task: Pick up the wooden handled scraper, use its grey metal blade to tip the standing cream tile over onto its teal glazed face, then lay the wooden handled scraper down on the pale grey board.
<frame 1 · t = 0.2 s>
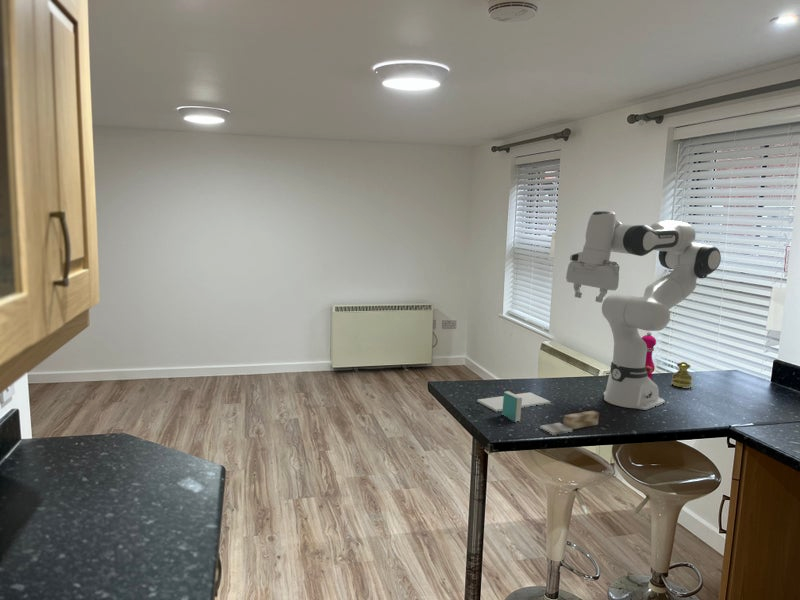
hand: (587, 299, 198), 39 cm above the counter, tool pointing down, fingers open, 8 cm apart
gold ridged bell shape: (681, 386, 240), on the counter
board: (513, 402, 208), on the counter
wooden handled scraper: (571, 427, 187), on the counter
pepper mill: (644, 378, 249), on the counter
tile: (510, 418, 193), on the counter
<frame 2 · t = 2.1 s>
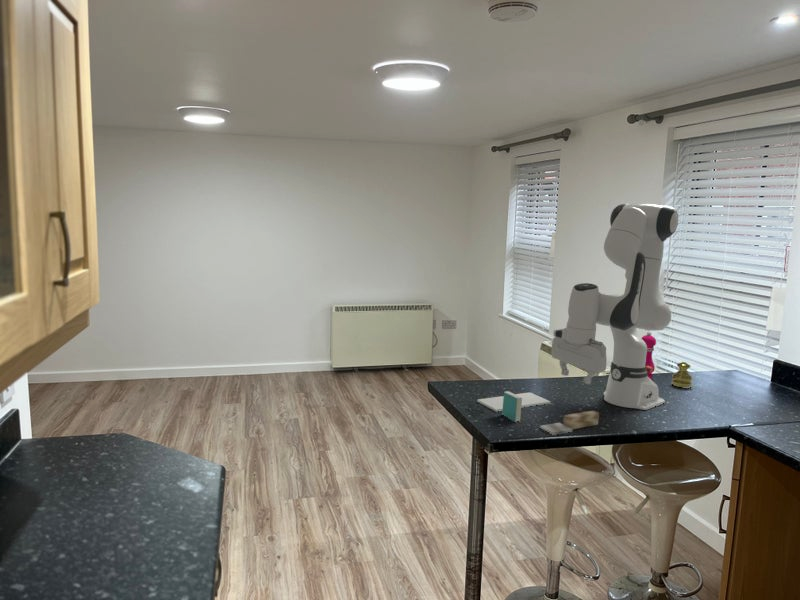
hand: (575, 379, 184), 16 cm above the counter, tool pointing down, fingers open, 8 cm apart
nothing on the counter moved.
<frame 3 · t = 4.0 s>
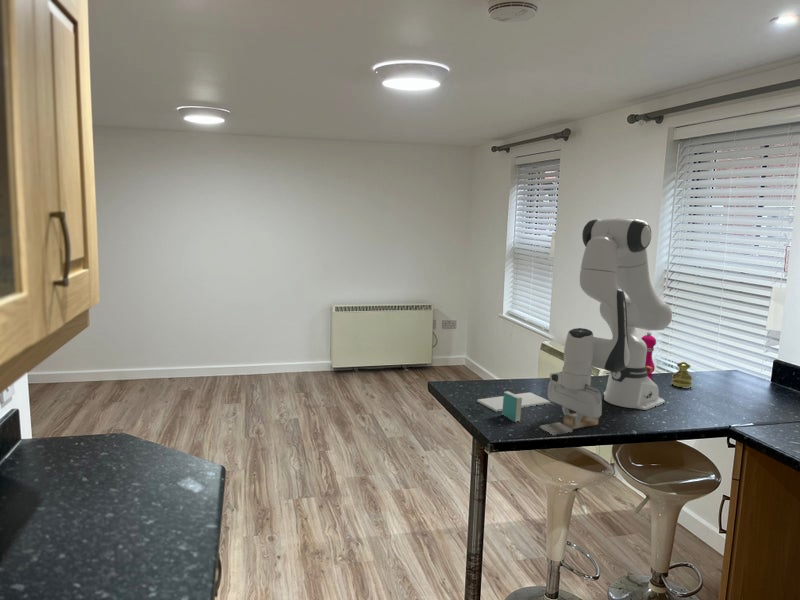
hand: (571, 422, 187), 2 cm above the counter, tool pointing down, fingers closed on wooden handled scraper, 2 cm apart
wooden handled scraper: (571, 427, 187), on the counter, touching gripper
everything else where it was.
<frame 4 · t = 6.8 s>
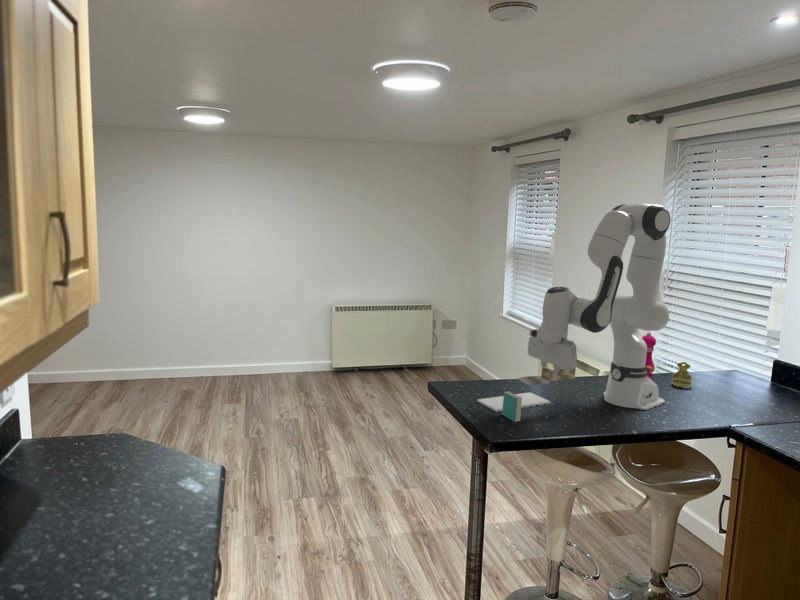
hand: (549, 375, 198), 13 cm above the counter, tool pointing down, fingers closed on wooden handled scraper, 2 cm apart
wooden handled scraper: (548, 380, 198), point 11 cm above the counter, touching gripper
everything else where it was.
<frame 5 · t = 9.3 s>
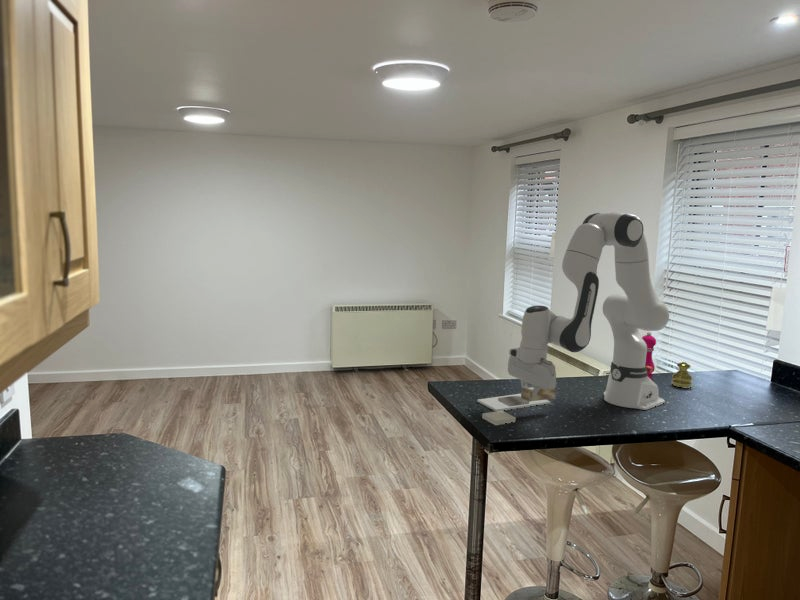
hand: (529, 395, 195), 7 cm above the counter, tool pointing down, fingers closed on wooden handled scraper, 2 cm apart
wooden handled scraper: (528, 400, 195), point 5 cm above the counter, touching gripper
tile: (508, 416, 192), point 1 cm above the counter, tilted 90°
everything else where it was.
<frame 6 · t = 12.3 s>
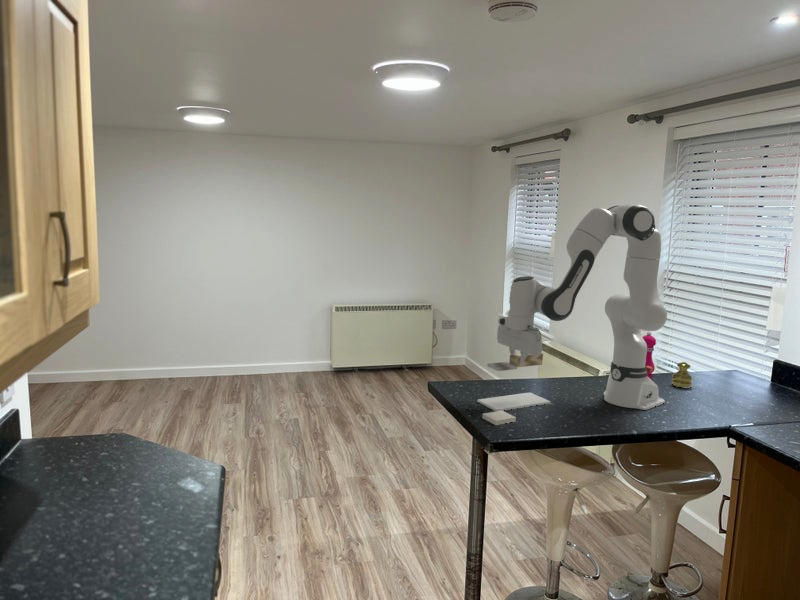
hand: (517, 361, 206), 15 cm above the counter, tool pointing down, fingers closed on wooden handled scraper, 2 cm apart
wooden handled scraper: (516, 366, 206), point 13 cm above the counter, touching gripper
everything else where it was.
when the fingers open (4 cm above the counter, at t = 14.6 s): wooden handled scraper drops 1 cm, resting on board.
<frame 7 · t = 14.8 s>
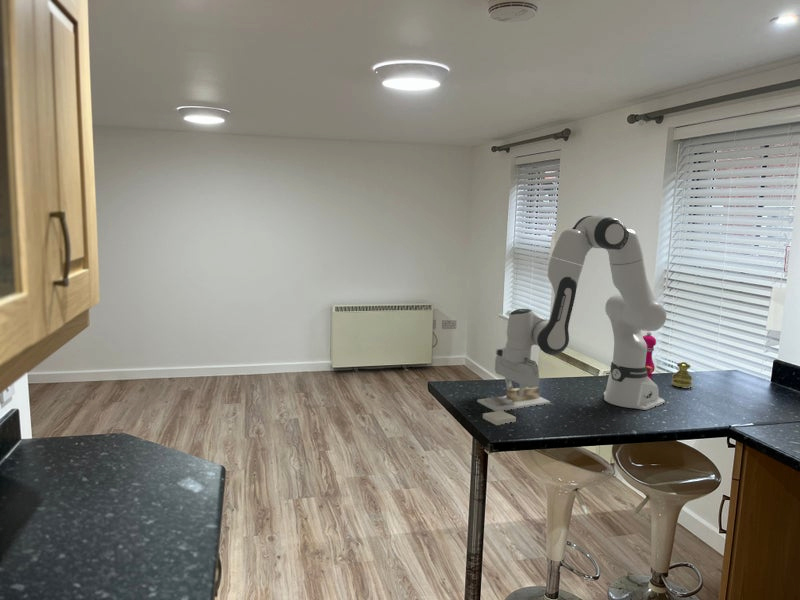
hand: (514, 392, 208), 4 cm above the counter, tool pointing down, fingers open, 4 cm apart
wooden handled scraper: (513, 400, 208), point 1 cm above the counter, touching board
everything else where it was.
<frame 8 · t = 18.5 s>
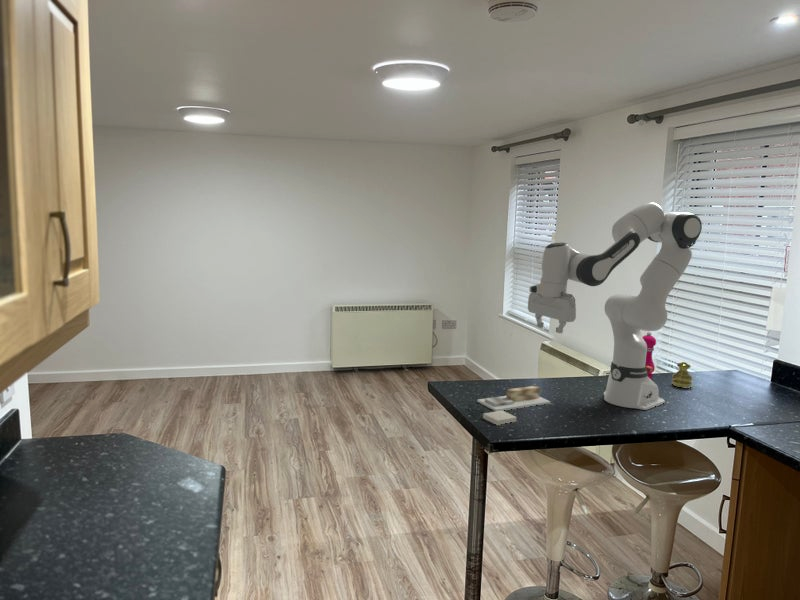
hand: (549, 330, 203), 27 cm above the counter, tool pointing down, fingers open, 8 cm apart
nothing on the counter moved.
at the end: tile tilted 90°; wooden handled scraper inside the target area on the board (0.1 cm from its centre), point 0.8 cm above the board's base; the gripper is holding nothing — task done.
